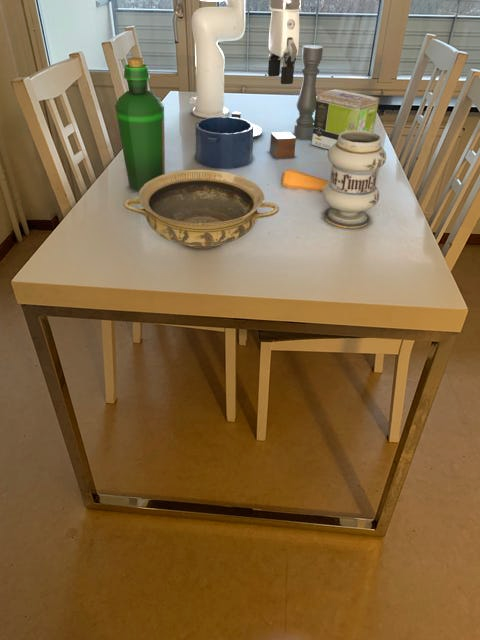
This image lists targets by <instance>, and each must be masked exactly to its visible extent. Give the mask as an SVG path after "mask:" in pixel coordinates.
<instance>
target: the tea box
mask: <svg viewBox="0 0 480 640" xmlns="http://www.w3.org/2000/svg"><path fill="white" fill-rule="evenodd" d="M316 99H317V101H316V109H315V111H314V118H313V119H314V123H313V124H314V128H313V137H312V138H311V146H315V147H318V148H322V149H325V150H329V149H330V147H331V146H332V145H333V144H335V143H336V142H337V140H338V137H339V135H340V133H342V132H345V131H351V130H360V131H367V132H372V133H374V130H375V124H376V118H377V114H378V108H379V103H380V97H377V96H373V95H368V94H362V93H357V92H354V91H353V92H352V91H347V90H342V89H337V88H334V89H331V90H328V91H323V92H320V93H319V92H318V93H316Z"/></svg>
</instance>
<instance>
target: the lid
mask: <svg viewBox="0 0 480 640" xmlns="http://www.w3.org/2000/svg"><path fill="white" fill-rule="evenodd" d="M241 114H242V113H241V112H239V111H232V112H231V117H236V118H240V119H242V118H241ZM253 127H254V130H253V139H256V138H259V137H260V136H261V135H262V134H263V129H262V128H261V127H260V126H258V125H256V124H253Z"/></svg>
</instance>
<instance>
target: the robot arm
mask: <svg viewBox="0 0 480 640" xmlns="http://www.w3.org/2000/svg"><path fill="white" fill-rule="evenodd" d="M200 1H201V2H225V6H203V7H199V8H197V9H196V10H195V11H193V13H192V16H191V24H190V25H191V31H192V36H193V41H194V43H193V44H194V56H195V87H196V88H195V89H196V90H195V92H196V93H195V94H196V96H191V97H190V99H189V101H188V102H189V104H191V105H194V107H193V108H192V114H193V115H194V116H196V117H198V118H203V119H205V118H211V117H227V116H228V115H229V109H228V108H227V107H225V55H224V53H223V51H222V49H221V48H220V46H219V44H218V43H219V42H233V41H238V40H240V39H242V38H243V36H244V35H245V31H246V0H200ZM301 1H302V0H269V11H271V15H270V23H269V35H268V53H269V54H268V67H267V69H268V70H267V76H268V77H279V76H280V84H281V85H292V84H294V74H295V73H294V72H295V67H296V61H297V57H298V55H299V50H300V49H299V47H300V12H301V3H302V2H301ZM281 61H282V66H281Z"/></svg>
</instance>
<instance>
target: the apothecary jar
mask: <svg viewBox="0 0 480 640" xmlns="http://www.w3.org/2000/svg"><path fill="white" fill-rule="evenodd" d="M327 158H328V161H329V162H330V164H331V172H330V177H329V181H330V182H328V183H327V184H326V185H325V187H324V188H323V191H322V197H323V200H324V201H325V203H326V204H327V205H329V206H330V207H331V208H328V209H327V210H326V211H325V212H324V215H325V216H324V219H325V221H326V222H328V223H329V224H331V225H333V226H336V227H339V228H343V229H359V228H362V227H364V226H366V225H368V224H369V221H370V217H369V215H368V214H367V212H365V211H367V210H369V209H371V208H373V207H375V206H376V205H377V203H378V202H379V200H380V191H379V189H378V188H377V186H376V184H377V178H378V177H377V176H378V170H379V169H380V168H381V167H382V166H384V164H386V161H387V153H386V150H385V149H384V148H383V146H382V138H381V136H380V135H379V134H377V133H375V132H373V133H372V132H367V131H360V130H351V131H345V132H342V133H340V135H339V137H338V140H337V142H336V143H335V144H333V145H332V146H331V147H330V149H328V151H327Z"/></svg>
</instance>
